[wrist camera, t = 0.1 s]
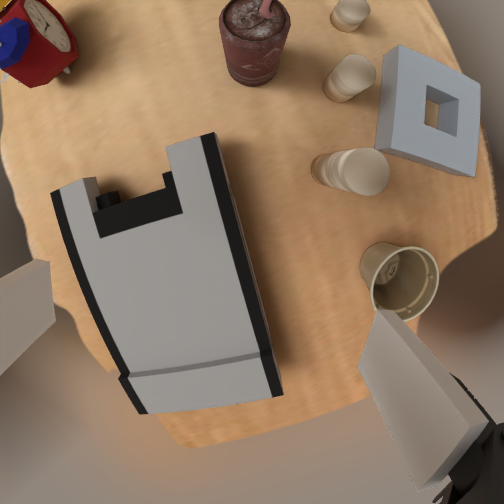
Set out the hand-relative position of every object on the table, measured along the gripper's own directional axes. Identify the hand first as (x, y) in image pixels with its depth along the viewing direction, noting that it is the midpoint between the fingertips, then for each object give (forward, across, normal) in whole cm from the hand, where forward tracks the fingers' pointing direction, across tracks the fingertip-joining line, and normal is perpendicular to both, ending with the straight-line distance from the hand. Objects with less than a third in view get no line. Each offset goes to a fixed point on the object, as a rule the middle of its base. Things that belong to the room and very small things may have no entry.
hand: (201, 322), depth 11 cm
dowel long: (+28, +10, +7) cm, 31 cm away
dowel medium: (+28, +10, +18) cm, 35 cm away
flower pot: (+28, +20, -4) cm, 35 cm away
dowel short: (+28, +10, +29) cm, 42 cm away
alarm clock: (+28, -30, +21) cm, 47 cm away
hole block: (+28, +24, +18) cm, 41 cm away
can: (+28, 0, +19) cm, 34 cm away
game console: (+28, -6, -10) cm, 31 cm away
